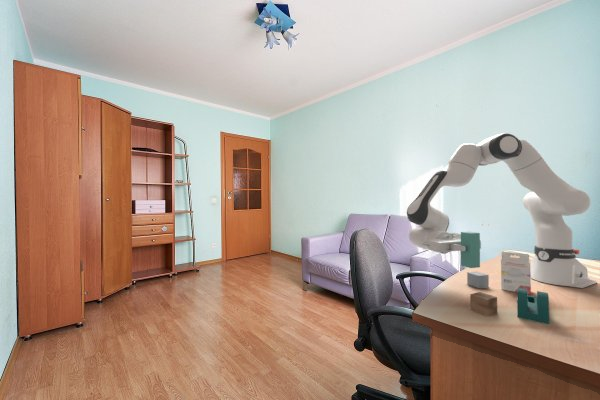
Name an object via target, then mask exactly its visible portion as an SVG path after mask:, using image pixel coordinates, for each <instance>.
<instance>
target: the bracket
mask: <svg viewBox="0 0 600 400" xmlns="http://www.w3.org/2000/svg"><path fill="white" fill-rule="evenodd" d="M516 294H517V297H516V298H517V302H516V303H517V304H516V305H517V306H516V307H517V309H516V310H517V314H516V315H517V318H519V319H524V320H529V321H533V322H537V323H541V324H546V325H549V324H550V299H549V292H544V291H538V290H537V291H536V296H535V295H531V294H527V289H521V288H517V292H516Z"/></svg>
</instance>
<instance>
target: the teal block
mask: <svg viewBox="0 0 600 400" xmlns="http://www.w3.org/2000/svg"><path fill="white" fill-rule="evenodd" d="M460 234H461V245H464V246H467V247H468V251H460V266H461V267H465V268H469V269H477V268H481V249H480V241H481V233H480V232H476V231H460Z"/></svg>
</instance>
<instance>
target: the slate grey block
mask: <svg viewBox="0 0 600 400" xmlns="http://www.w3.org/2000/svg"><path fill="white" fill-rule="evenodd" d="M466 275H467V277H466V278H467V279H466V281H467V283H466V284H467V286H471V287H473V288H477V289H486V288H489V287H490V286H489V278H490V277H489V274H486V273H484V272H481V271H469V272H466Z"/></svg>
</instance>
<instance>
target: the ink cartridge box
mask: <svg viewBox="0 0 600 400" xmlns="http://www.w3.org/2000/svg"><path fill="white" fill-rule="evenodd" d="M513 256H516V257H513ZM530 272H531V261H530V254H528V253H520V252H510V251H501V258H500V276H501V277H500V279H501V280H500V281H501V282H500V285H501V290H503V291H509V292H514V293H517V288H521V289H527V295H531V292H532V291H531V289H532V287H531V286H532V285H531V284H532V283H531V282H532V281H531V279H532V278H531V273H530Z"/></svg>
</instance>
